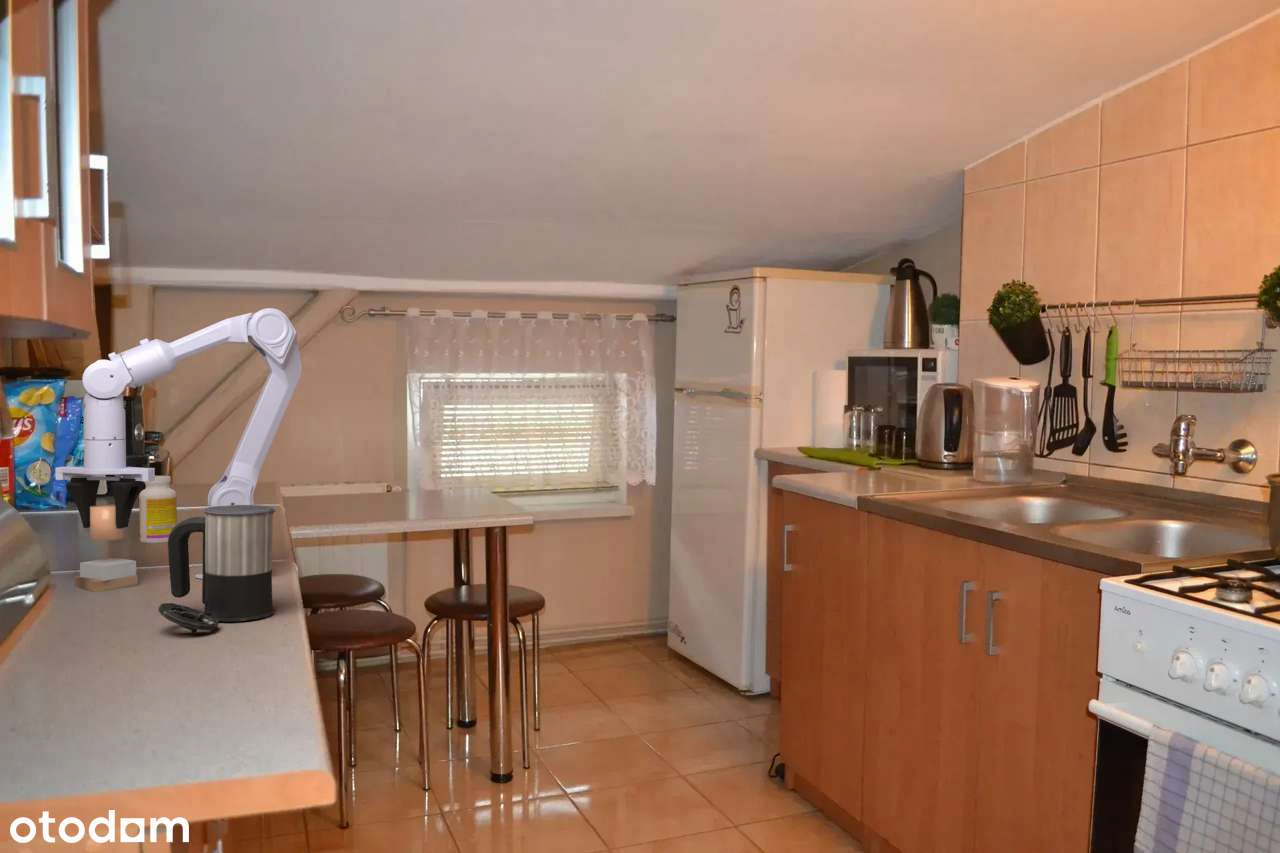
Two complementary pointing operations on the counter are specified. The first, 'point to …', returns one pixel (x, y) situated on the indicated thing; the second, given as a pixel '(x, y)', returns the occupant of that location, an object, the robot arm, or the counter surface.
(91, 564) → the slab upper
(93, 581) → the slab lower
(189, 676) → the counter surface
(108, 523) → the terracotta cylinder
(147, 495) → the supplement bottle
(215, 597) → the milk frother
